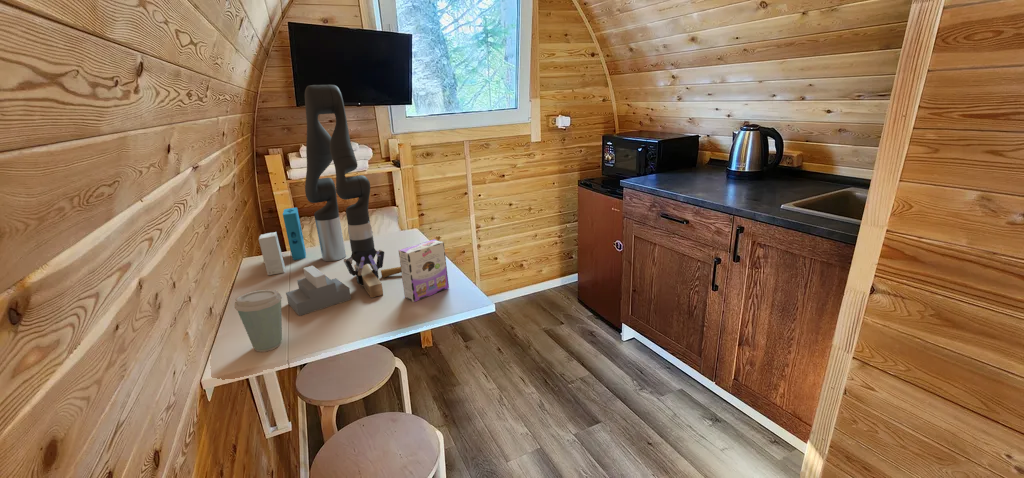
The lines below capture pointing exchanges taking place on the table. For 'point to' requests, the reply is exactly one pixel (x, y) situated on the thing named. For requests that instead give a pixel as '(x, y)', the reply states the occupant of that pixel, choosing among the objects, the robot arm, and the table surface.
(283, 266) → the skincare box
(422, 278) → the candy box
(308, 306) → the ridge stand
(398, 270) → the kendama
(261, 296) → the disposable coffee cup
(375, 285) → the oak beam
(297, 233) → the block
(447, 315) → the table surface
